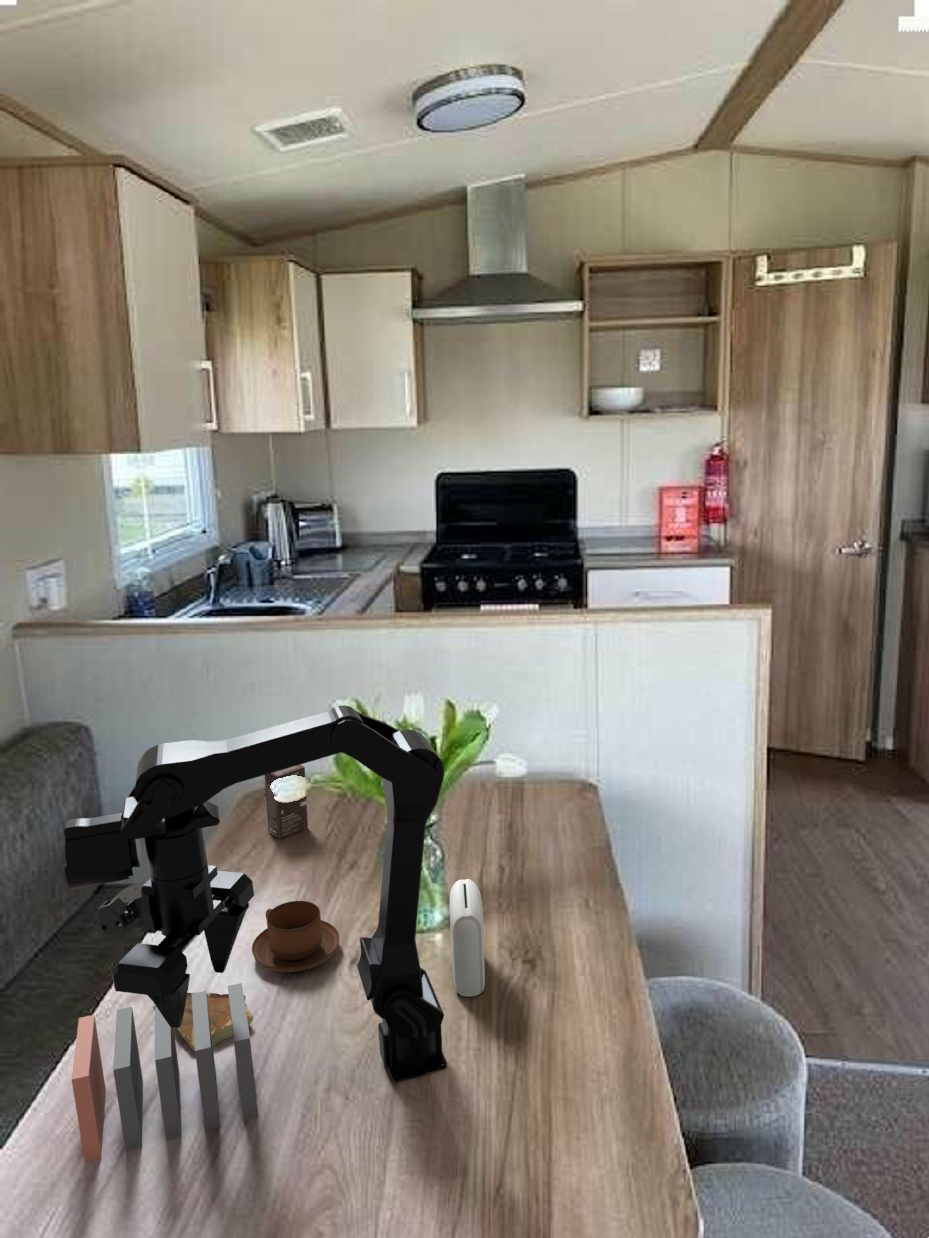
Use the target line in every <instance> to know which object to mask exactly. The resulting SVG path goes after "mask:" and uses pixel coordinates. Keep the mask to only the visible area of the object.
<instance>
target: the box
mask: <svg viewBox="0 0 929 1238" xmlns="http://www.w3.org/2000/svg"><path fill="white" fill-rule="evenodd" d="M291 775H297V776H302V777H305V778H306V767H305V766H304V765H303V764H301V765H297V766H294V767H290V768H287V769H284V770H280V771H277V772H273V773H270V774H266V775H264V783H265V786H264V787H265V799H266V814H267V815H266V816H267V828H268V829H267V830H268V832H269V833H270V834H272V835H273V836H275V837H277V838H279V839H283V838H286V837H288V836H291V835H293V834H295V833H298V832H300V831H302V830H306V829H307V828H308V827H309V824H308V823H309V822H308V821H309V820H308V807H307V805H308V804H307V795H306V796H305V797H304V798H302V799H300V800H298V801H293V802H289V803H281V802H278V801H276V800H275V799H274V794H273V792H272V791H271V789H270V785H271V783H272V782H273V781H274V780H276V779H278V778H283V777H286V776H291Z"/></svg>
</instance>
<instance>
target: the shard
mask: <svg viewBox="0 0 929 1238" xmlns="http://www.w3.org/2000/svg"><path fill="white" fill-rule="evenodd" d="M193 993H194V992H187V997H186V1003H185V1010H184V1015H183V1020H182V1024H181V1026H180V1028H176V1029H177V1030H178V1032H179V1034H180V1036H181V1037H182V1038H183V1039H184V1040H185V1041H186V1042H187V1044H188V1045H189V1047H190V1049H191V1050H193V1052H195V1042H194V1026H193V1010H192V994H193ZM206 995H207V1003H208V1011H209V1020H210V1028H211V1036H212V1045H213V1046H214V1045H216V1044H218V1043H219V1042H222V1041H224V1040H225V1039H229V1038H231V1037H233V1030H232V1021H231V1012H230V1003H229V994H228V993H223V994H222V993H221V994H219V993H218V992H215V993H213V992H211V993H210V992H206ZM244 1001H245V1002H246V995H245V994H244ZM245 1008H246V1015H247V1022H248V1028H249V1027H251V1024H252V1022H253V1021H254V1014H253V1013H252V1012H251V1011H250V1010H249V1008H248V1007H247V1005H246V1004H245Z"/></svg>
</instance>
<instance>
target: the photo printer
mask: <svg viewBox="0 0 929 1238" xmlns="http://www.w3.org/2000/svg"><path fill="white" fill-rule="evenodd" d="M483 914H484V911H483V901H482V895H481V892H480V889H479V887H478V885H477V884H476V883H475V882H474V881H473V880H472V879H469V878H466V879H458V880H456V882H454V884H453V885H452V887H451V889H450V893H449V916H450V917H449V923H450V924H449V925H450V928H449V929H450V950H451V951H450V952H451V965H452V966H451V968H452V977H453V978H452V979H453V985H454V990H455V992H456V994H459V995H460V996H462V997H467V998H468V997H469V998H470V997H476V996H478V995H480V994H481V993H483V992H484V990H485V984H486V972H485V948H484V945H485V944H484V915H483Z"/></svg>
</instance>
